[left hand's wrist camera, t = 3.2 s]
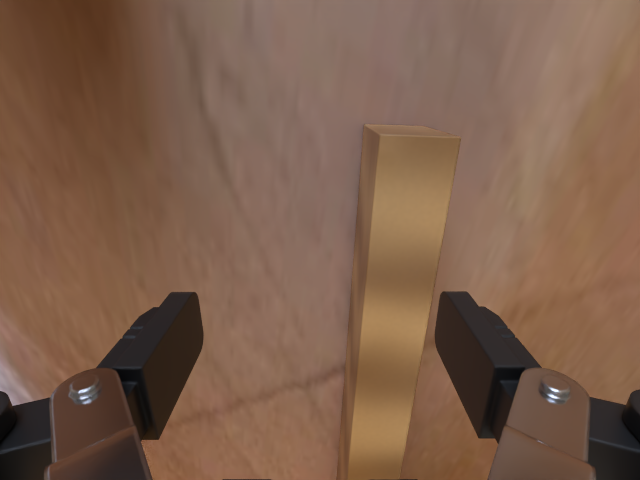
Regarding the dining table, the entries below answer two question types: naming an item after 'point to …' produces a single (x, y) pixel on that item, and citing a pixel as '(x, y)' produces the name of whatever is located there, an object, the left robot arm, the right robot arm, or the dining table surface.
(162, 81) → the dining table surface
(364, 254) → the bar
